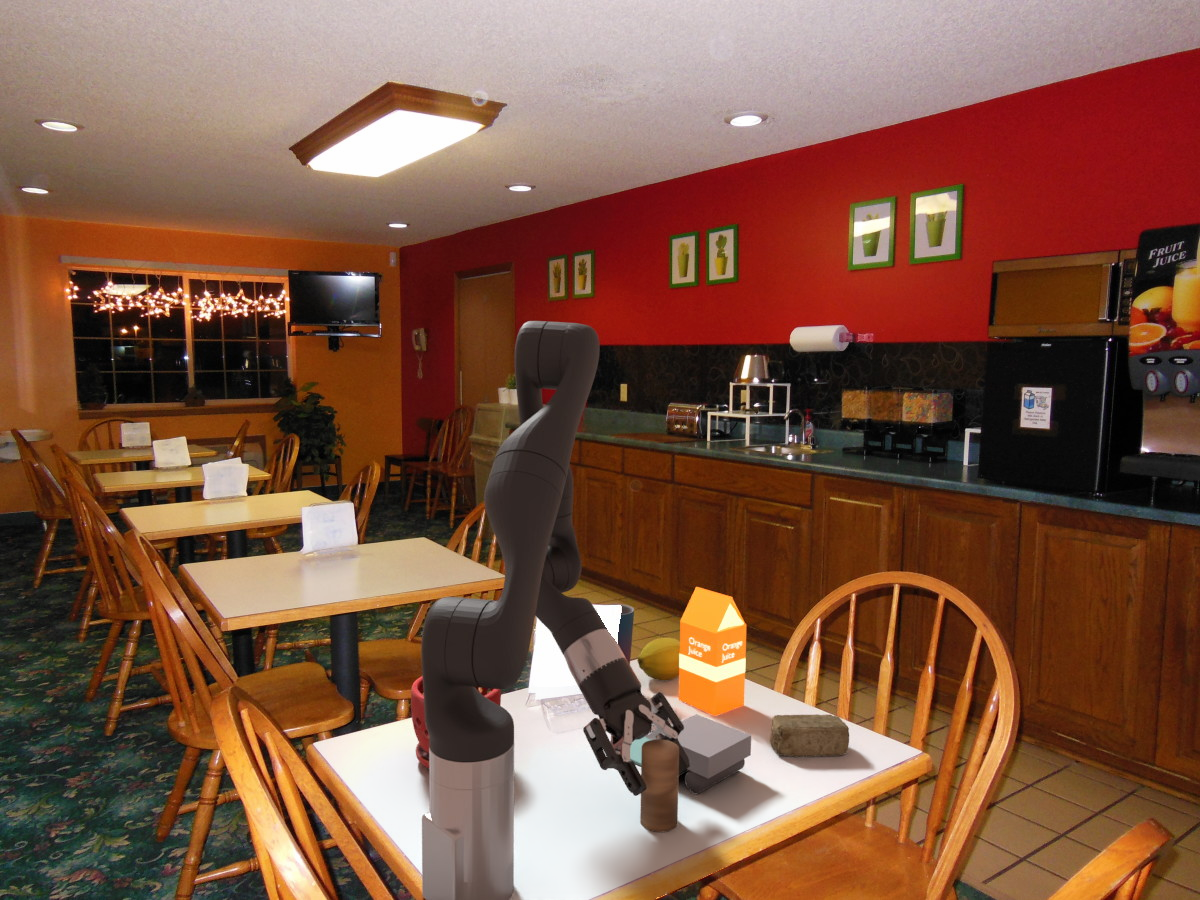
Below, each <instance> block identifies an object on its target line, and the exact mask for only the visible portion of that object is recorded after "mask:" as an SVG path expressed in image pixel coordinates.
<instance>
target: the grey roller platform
mask: <svg viewBox="0 0 1200 900" xmlns="http://www.w3.org/2000/svg"><path fill="white" fill-rule="evenodd" d="M680 721H681V722H682V724H683V725H684V730H682V731H681V732H680V734H679V735H678V741H679V743H680V744H681V746H682V748H683V749H684V751H685V753H686V755H687V756H688V758H689V763H690V766H689V768H687V769H686V770H685V771H683V772H681V773H679V776H678V777H680V776H682V775H683V774H685V776H684V782H685V785H686V787H687V789H688V790H689V791H690V792H691V793H693V794H699V793H702V792H703V791H705V790H707V789H708V788H710V787H712V786H714V785H716V784H718V783H719V782H720V781H721V782H722V781H723V780H724V779H726V778H728V777H730V776H731V775H733V774H735V773H737V772H739V771H740V770H743V768H744V767H745V759H746V758H748V757H750V756H751V754H752V753H751V752H752V734H749V733H747V732H744V731H741V730H739V729H737V728H734V727H731V726H729V725H726V724H723V723H721V722H718V721H716V720H714V719H709V718H707V717H705V716H703V715H699V714H698V713H696V714H694V715H692V716H690V717H688V718H686V719H683V720H680ZM671 726H672V727H673V724H671ZM661 734H663V733H661ZM663 735H664V734H663ZM664 736H665V735H664Z"/></svg>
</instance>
